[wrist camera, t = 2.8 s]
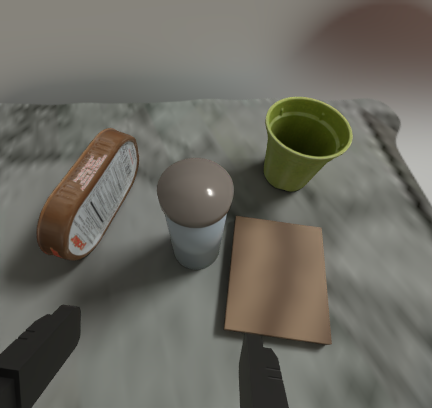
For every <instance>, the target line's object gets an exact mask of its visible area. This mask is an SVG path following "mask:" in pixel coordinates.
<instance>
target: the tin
mask: <svg viewBox="0 0 432 408" xmlns="http://www.w3.org/2000/svg"><path fill="white" fill-rule="evenodd" d="M138 165H139V154H138V147H137V143H136V139H135V138H134V137H132V136H130V135H128V134H125V133H122V132H119V131H117V130H115V129H113V128H108V129H104V130H103V131H101V132H100V133H98V134H97V135H96V136H95V138H94V139H93V140H92V141H91V143H90V144H89V145H88V147H87V148H86V149H85V151H84V152H83V153H82V155H81V156H80V157H79V158H78V160H77V161H76V162H75V164H74V165H73V166H72V168H71V169H70V170H69V171H68V173H67V174H66V175H65V176H64V178H63V179H62V180H61V182H60V183H59V184H58V185H57V187H56V188H55V189H54V190H53V192H52V193H51V195H50V196H49V197H48V199H47V201H46V202H45V204H44V207H43V209H42V211H41V213H40V217H39V220H38V225H37V242H38V245H39V247H40V249H41V250H42V251H43V252H44V253H45V254H48V255H54V256H57V257H60V258H63V259H66V260H79V259H82V258H84V257H85V256H87V255H88V254H89V253H90V252H91V251H92V250H93V249H94V248H95V247H96V246H97V245H98V243H99V242H100V240H101V239H102V237H103V235H104V234H105V232H106V230H107V229H108V227H109V225H110V223H111V222H112V220H113V218H114V217H115V215H116V213H117V212H118V210H119V208H120V206H121V205H122V203H123V201H124V200H125V198H126V196H127V194H128V192H129V191H130V189H131V187H132V185H133V183H134V180H135V177H136V174H137V170H138Z"/></svg>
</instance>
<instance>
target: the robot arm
mask: <svg viewBox="0 0 432 408" xmlns="http://www.w3.org/2000/svg"><path fill="white" fill-rule="evenodd" d="M80 320H81V311H80V307H77V306H70V305H61V306H60V307H59V308H58V309H57V310H56V311H55V312H54V313H53V314H52V315H50V314H47V315H45V316H43V317H42V318H40V319H38V320H36V321H35V322H34V323H33V324H32V325H31V326H30V327H28V328H27V329H26V331H25V332H23V333H22V334H21V335H20V336H19V337H18V339H16V340H15V341H14V342H13V343H12V344H10V345H9V346H8V347H7V348H6V349H5V350H4V351H3V352H2V353H1V354H0V408H32V406H33V405H34V403H35V402H36V401H37V399H38V398H39V397H40V395H41V394H42V393H43V391H44V390H45V388H46V387H47V386H48V384H49V383H50V382H51V380H52V379H53V378H54V376H55V375H56V373H57V372H58V371H59V369H60V368H61V367H62V365H63V364H64V363H65V361H66V360H67V358H68V357H69V356H70V354H71V353H72V352H73V350H74V349H75V347H76V346H77V344H78V341H79V338H80ZM239 391H240V408H289V407H288V402H287V397H286V393H285V388H284V384H283V381H282V375H281V371H280V366H279V361H278V358H277V356H276V355H275V353H274V352H273V350H272V349H271V348H264V347H263V343H262V337H261V335H259V334H252V333H245V335H244V340H243V345H242V350H241V355H240V361H239Z"/></svg>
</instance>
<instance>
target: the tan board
mask: <svg viewBox="0 0 432 408" xmlns="http://www.w3.org/2000/svg"><path fill="white" fill-rule="evenodd" d="M224 330H229V331H236V332H243V333H252V334H259V335H263V336H270V337H277V338H284V339H290V340H297V341H304V342H311V343H317V344H324V345H330V344H332V342H331V330H330V319H329V307H328V296H327V285H326V273H325V262H324V251H323V239H322V228H319V227H312V226H304V225H297V224H290V223H283V222H276V221H269V220H262V219H255V218H248V217H241V216H236V218H235V225H234V234H233V244H232V254H231V264H230V274H229V283H228V293H227V303H226V313H225V323H224Z"/></svg>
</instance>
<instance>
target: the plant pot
mask: <svg viewBox="0 0 432 408" xmlns="http://www.w3.org/2000/svg"><path fill="white" fill-rule="evenodd" d="M265 124H266V129H267V134H268V142H267V150H266V156H265V162H264V175H265V177H266V179H267V181H268V182H269V183H270V184H271V185H272V186H274V187H275V188H278V189H284V190H286V191H296V190H299V189H301V188H303V187H304V186H305V185H306V184H307V183H308V182H309V181H310V180H311V179H312V178H313V176H314V175H315V174H316V173H317V172H318V171H319V170H320V169H321V168H322V167H323V166H324V165H325V164H326V163H327V162H329V161H331V160H332V159H334V158H336V157H338V156H340V155H342V154H343V153H344V152H345V151H346V150H347V149H348V148H349V147H350V145H351V142H352V138H353V134H352V129H351V127H350V124H349V123H348V121H347V120H346V118H345V117H344V116H343V115H342V114H341V113H340V112H338V111H337V110H336V109H335V108H333V107H332V106H330V105H328V104H326V103H324V102H321V101H319V100H315V99H312V98H307V97H289V98H285V99H282V100H279V101H277V102H276V103H275V104H273V105H272V106H271V107H270V109H269V110H268V112H267V115H266V120H265Z"/></svg>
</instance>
